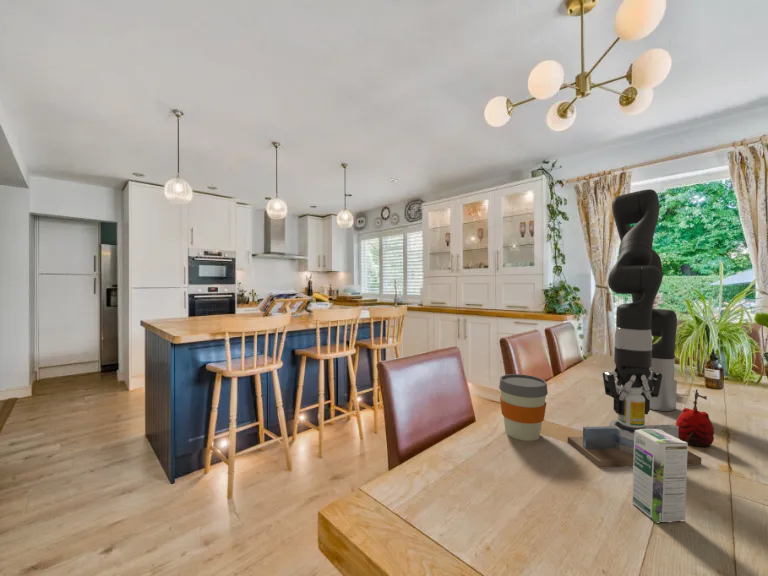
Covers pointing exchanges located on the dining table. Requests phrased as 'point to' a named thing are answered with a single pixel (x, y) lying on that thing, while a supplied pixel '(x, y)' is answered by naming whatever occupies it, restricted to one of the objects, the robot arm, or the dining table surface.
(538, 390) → the reusable coffee cup
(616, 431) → the grey winged octagonal holder
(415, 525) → the dining table surface
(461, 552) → the dining table surface
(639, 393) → the supplement bottle
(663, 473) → the syrup box
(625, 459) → the board
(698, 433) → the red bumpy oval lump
